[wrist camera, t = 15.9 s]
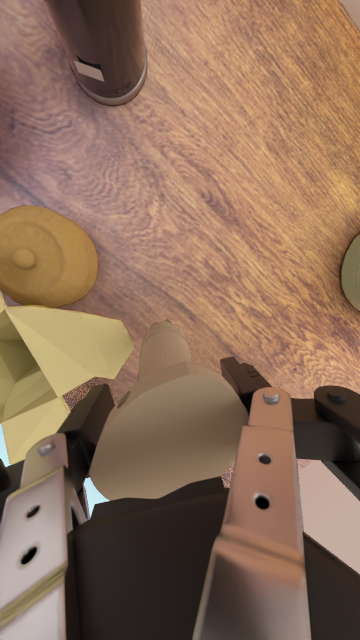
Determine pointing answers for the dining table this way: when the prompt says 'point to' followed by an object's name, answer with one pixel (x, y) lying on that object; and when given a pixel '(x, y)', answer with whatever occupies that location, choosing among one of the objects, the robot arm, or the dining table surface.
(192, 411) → the handle
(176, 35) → the dining table surface
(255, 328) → the dining table surface
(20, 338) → the banana peel
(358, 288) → the green dish
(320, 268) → the dining table surface
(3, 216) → the pot
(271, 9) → the dining table surface
